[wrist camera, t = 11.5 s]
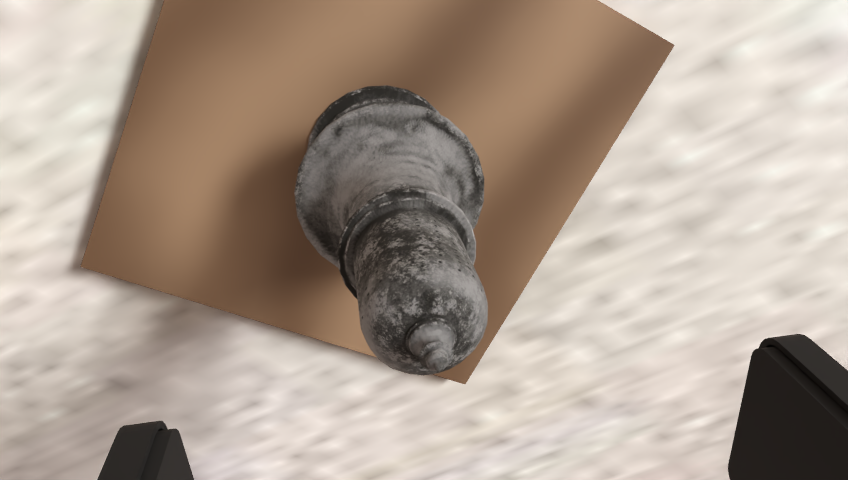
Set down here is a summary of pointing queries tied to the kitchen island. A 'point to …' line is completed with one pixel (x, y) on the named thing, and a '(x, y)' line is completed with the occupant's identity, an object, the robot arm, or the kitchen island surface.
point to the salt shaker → (398, 223)
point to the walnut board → (305, 102)
